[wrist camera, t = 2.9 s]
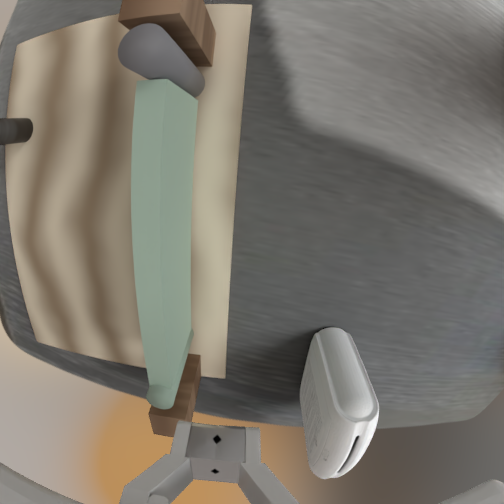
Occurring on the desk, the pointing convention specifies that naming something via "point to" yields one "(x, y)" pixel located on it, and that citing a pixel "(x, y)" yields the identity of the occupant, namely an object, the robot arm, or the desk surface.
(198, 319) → the gate frame
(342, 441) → the photo printer
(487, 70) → the desk surface
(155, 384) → the gate
